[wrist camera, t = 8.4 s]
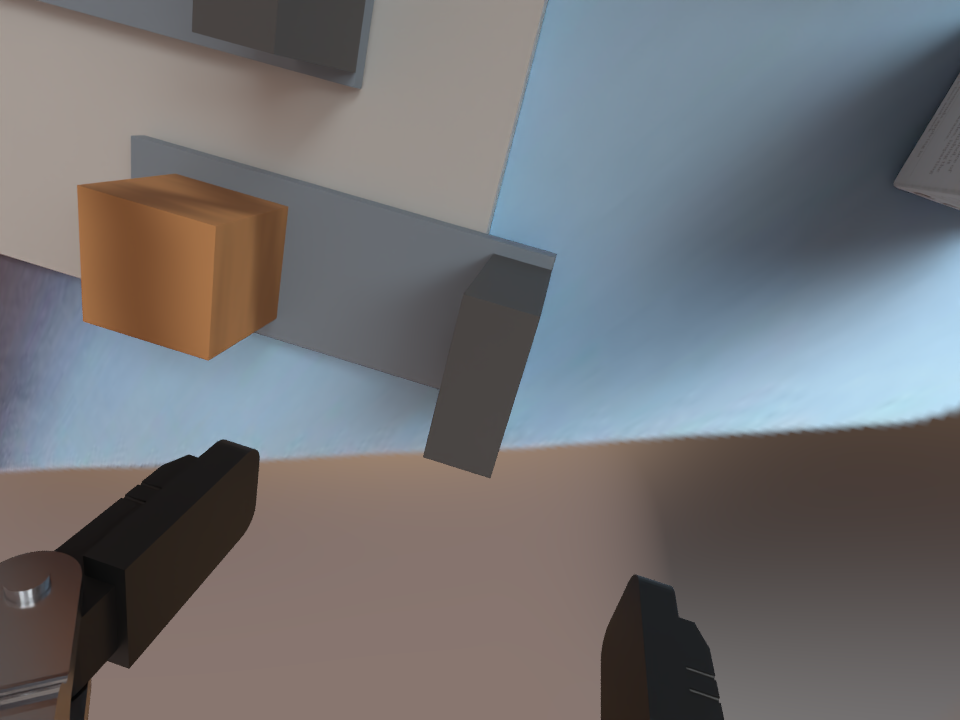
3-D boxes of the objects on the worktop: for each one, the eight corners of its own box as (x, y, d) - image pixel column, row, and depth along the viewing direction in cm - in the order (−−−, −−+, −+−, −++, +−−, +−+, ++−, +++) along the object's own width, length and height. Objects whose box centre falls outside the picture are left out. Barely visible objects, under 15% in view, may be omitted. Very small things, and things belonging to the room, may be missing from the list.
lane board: (573, -99, 20) (572, -110, 19) (451, 382, 27) (446, 390, 26) (-56, -255, 21) (-85, -273, 20) (-4, 242, 29) (-23, 246, 28)
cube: (288, 206, 23) (215, 226, 19) (276, 318, 25) (208, 360, 21) (175, 173, 24) (76, 184, 19) (172, 286, 26) (82, 321, 21)
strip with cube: (556, 254, 23) (545, 301, 17) (511, 402, 26) (486, 489, 20) (144, 135, 24) (-9, 138, 18) (144, 290, 27) (11, 339, 21)
